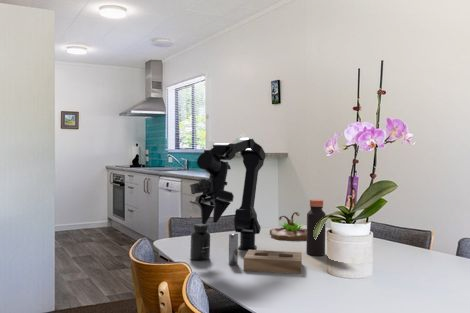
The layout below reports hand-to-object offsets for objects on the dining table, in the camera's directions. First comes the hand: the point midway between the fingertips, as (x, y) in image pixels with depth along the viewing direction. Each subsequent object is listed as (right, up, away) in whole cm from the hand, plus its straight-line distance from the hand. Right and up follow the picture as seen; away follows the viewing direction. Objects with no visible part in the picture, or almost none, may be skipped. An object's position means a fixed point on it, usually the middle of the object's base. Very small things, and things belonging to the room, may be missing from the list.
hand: (209, 223), depth 147 cm
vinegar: (+38, -14, +18) cm, 45 cm away
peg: (+8, -14, +1) cm, 16 cm away
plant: (+34, -14, +52) cm, 64 cm away
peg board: (+21, -14, -2) cm, 25 cm away
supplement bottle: (-4, -14, +8) cm, 17 cm away
